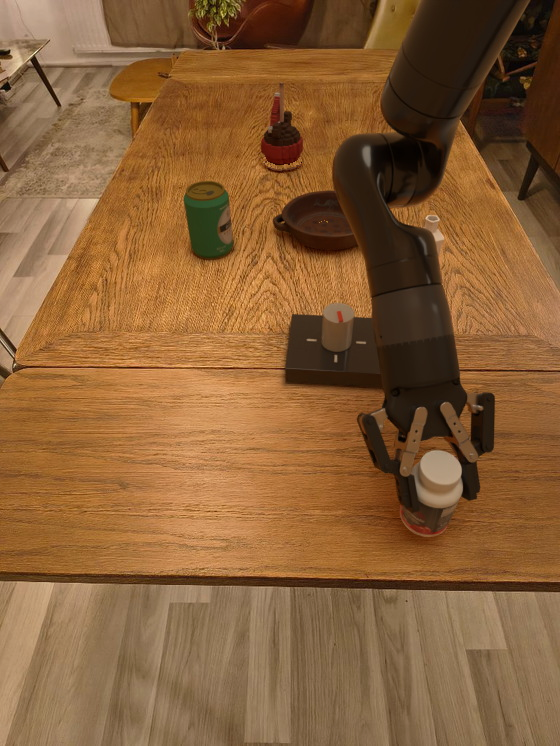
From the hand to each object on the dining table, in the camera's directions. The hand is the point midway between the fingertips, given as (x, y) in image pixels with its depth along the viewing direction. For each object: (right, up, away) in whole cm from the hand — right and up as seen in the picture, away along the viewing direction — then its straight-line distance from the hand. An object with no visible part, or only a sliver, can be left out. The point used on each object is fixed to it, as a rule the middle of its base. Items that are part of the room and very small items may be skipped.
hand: (441, 503), depth 51 cm
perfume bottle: (+7, +25, +36) cm, 44 cm away
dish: (-6, +41, +51) cm, 65 cm away
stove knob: (-8, +18, +24) cm, 31 cm away
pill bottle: (0, -3, +6) cm, 6 cm away
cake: (-15, +63, +73) cm, 98 cm away
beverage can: (-29, +37, +48) cm, 67 cm away
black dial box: (-8, +16, +26) cm, 31 cm away
